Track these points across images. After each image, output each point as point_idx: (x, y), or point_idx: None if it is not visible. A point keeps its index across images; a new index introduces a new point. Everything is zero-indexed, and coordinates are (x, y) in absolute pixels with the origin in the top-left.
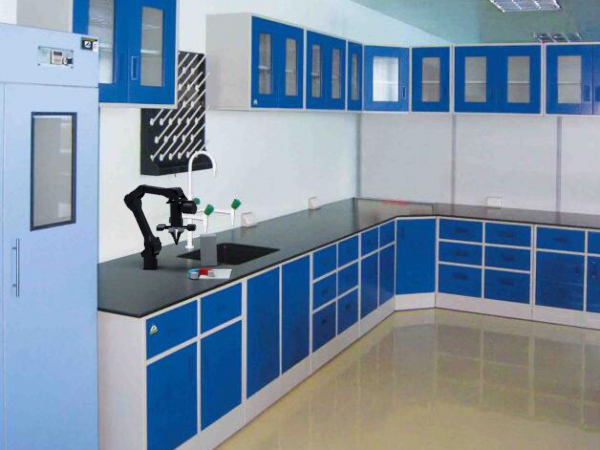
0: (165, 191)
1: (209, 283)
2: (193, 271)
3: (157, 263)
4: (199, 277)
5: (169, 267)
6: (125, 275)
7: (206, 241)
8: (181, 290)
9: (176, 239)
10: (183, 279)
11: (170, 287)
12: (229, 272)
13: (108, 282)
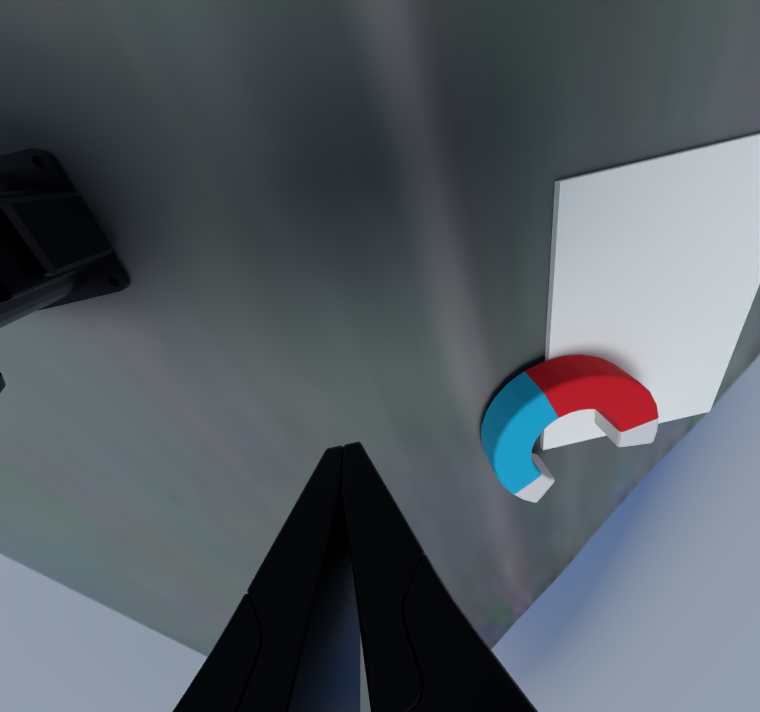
0: None
1: (592, 496)
2: (527, 472)
3: (86, 258)
4: (544, 440)
5: (185, 132)
6: (68, 486)
7: None
8: (486, 590)
9: (333, 549)
10: (456, 471)
11: None
12: (756, 268)
13: (121, 596)
